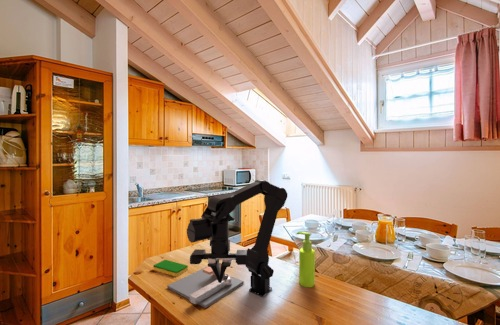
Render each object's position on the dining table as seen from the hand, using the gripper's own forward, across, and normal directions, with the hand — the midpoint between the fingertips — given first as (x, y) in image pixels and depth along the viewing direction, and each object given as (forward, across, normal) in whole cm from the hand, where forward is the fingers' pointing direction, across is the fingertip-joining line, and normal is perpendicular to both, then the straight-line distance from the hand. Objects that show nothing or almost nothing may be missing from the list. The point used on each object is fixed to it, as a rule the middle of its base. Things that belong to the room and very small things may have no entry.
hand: (220, 282), depth 86 cm
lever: (+7, +4, -7) cm, 11 cm away
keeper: (+7, +6, -18) cm, 21 cm away
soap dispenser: (+9, -31, -17) cm, 36 cm away
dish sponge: (+9, +26, -26) cm, 38 cm away
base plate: (+8, +8, -13) cm, 18 cm away
